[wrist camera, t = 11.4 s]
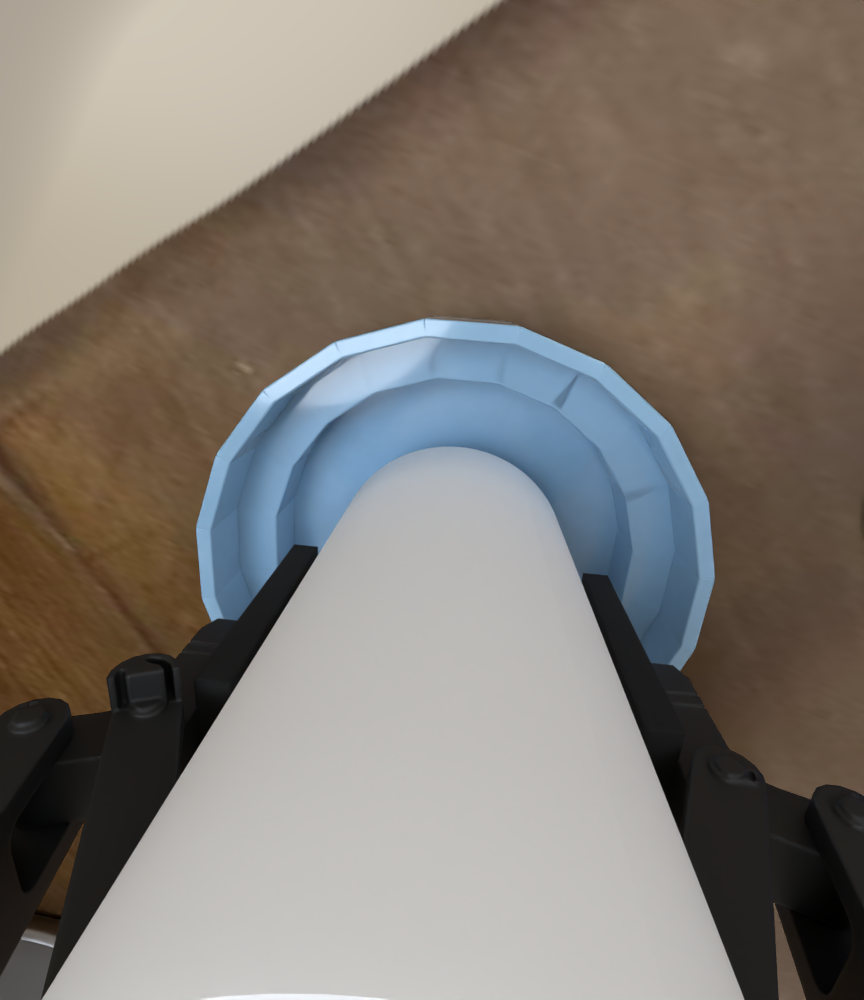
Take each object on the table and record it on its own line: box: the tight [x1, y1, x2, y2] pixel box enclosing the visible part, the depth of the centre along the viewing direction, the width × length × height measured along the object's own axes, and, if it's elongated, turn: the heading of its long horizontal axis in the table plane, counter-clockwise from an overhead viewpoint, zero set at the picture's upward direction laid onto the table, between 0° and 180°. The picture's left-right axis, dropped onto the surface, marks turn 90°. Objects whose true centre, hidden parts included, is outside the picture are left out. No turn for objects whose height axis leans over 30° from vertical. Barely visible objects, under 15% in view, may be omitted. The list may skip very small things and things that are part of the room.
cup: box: [42, 447, 744, 1000], centre depth 13 cm, size 8×8×16 cm
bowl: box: [196, 316, 715, 671], centre depth 20 cm, size 17×17×5 cm
